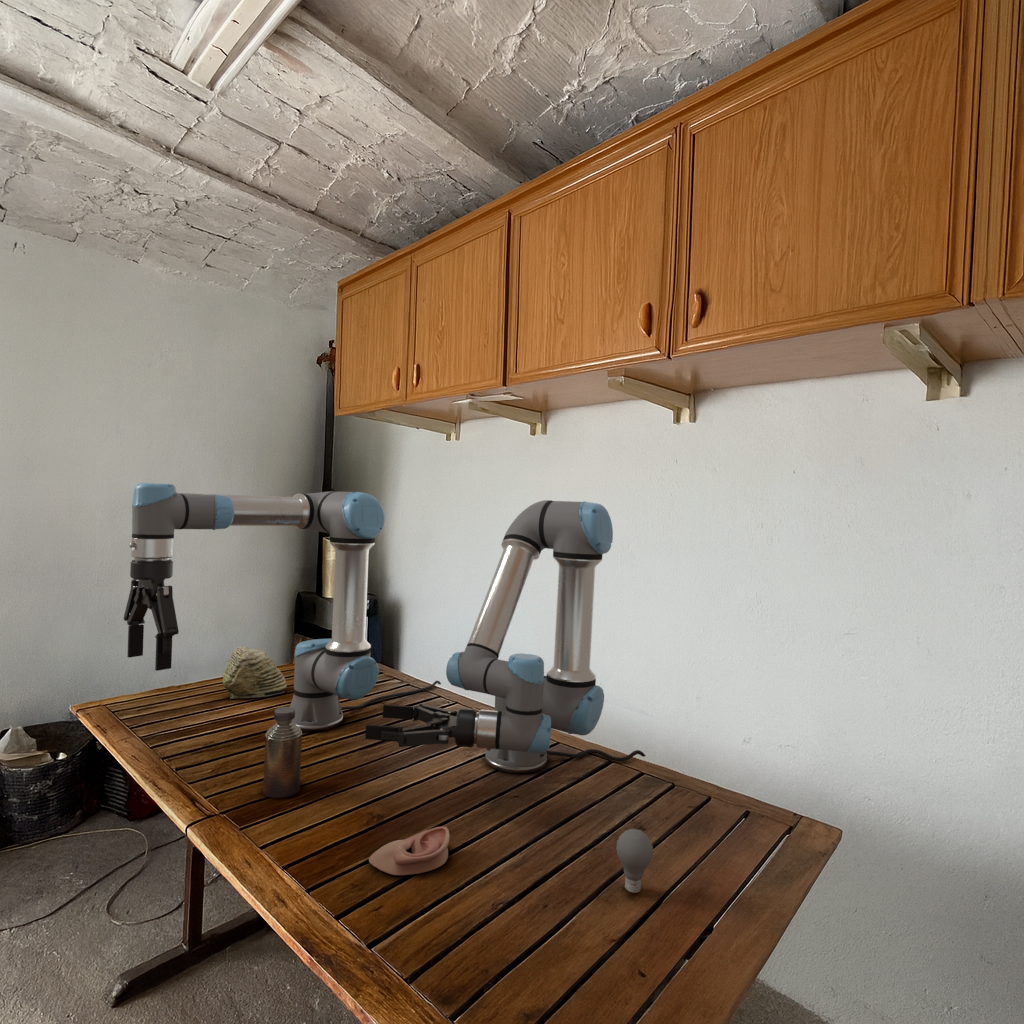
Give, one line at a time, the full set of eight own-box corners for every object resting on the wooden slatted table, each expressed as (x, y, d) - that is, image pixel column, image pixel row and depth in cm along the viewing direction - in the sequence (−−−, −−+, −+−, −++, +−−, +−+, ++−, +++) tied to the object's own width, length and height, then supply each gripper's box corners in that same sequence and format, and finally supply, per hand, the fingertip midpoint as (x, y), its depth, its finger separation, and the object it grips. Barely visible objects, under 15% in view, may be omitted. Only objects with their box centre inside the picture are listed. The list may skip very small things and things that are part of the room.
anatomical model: (361, 846, 108) (388, 814, 119) (360, 870, 108) (387, 835, 119) (436, 859, 105) (456, 825, 117) (435, 882, 105) (455, 846, 117)
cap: (288, 713, 139) (289, 705, 139) (298, 718, 136) (298, 710, 136) (270, 717, 136) (270, 709, 136) (280, 723, 133) (280, 714, 133)
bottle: (289, 779, 141) (292, 703, 141) (306, 790, 136) (309, 712, 136) (256, 789, 136) (259, 711, 135) (273, 801, 131) (276, 720, 130)
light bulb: (610, 879, 108) (613, 822, 108) (644, 879, 109) (647, 822, 109) (619, 902, 102) (622, 840, 102) (655, 901, 103) (658, 840, 103)
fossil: (218, 695, 195) (220, 647, 195) (278, 685, 208) (279, 640, 207) (228, 703, 189) (230, 653, 188) (289, 692, 201) (290, 645, 201)
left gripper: (108, 554, 134) (104, 654, 134) (159, 565, 118) (155, 678, 119) (146, 552, 140) (143, 648, 140) (199, 563, 124) (195, 671, 124)
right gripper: (467, 770, 119) (356, 761, 120) (480, 726, 144) (388, 719, 145) (470, 730, 119) (359, 721, 120) (482, 693, 144) (390, 687, 145)
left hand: (148, 662), depth 129 cm, fingers open, 13 cm apart
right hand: (375, 720), depth 132 cm, fingers open, 13 cm apart
